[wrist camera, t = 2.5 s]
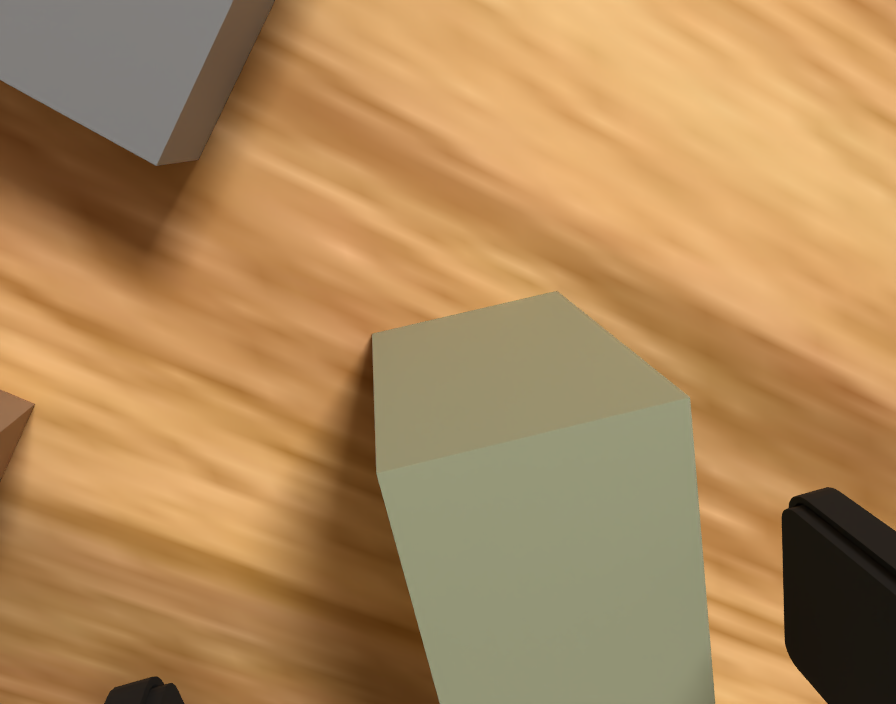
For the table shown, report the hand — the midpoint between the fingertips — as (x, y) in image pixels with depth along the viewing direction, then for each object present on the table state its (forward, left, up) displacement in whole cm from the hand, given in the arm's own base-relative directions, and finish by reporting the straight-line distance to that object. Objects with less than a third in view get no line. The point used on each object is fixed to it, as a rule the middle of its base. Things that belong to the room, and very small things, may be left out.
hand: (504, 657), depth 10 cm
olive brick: (-1, 0, -6) cm, 6 cm away
